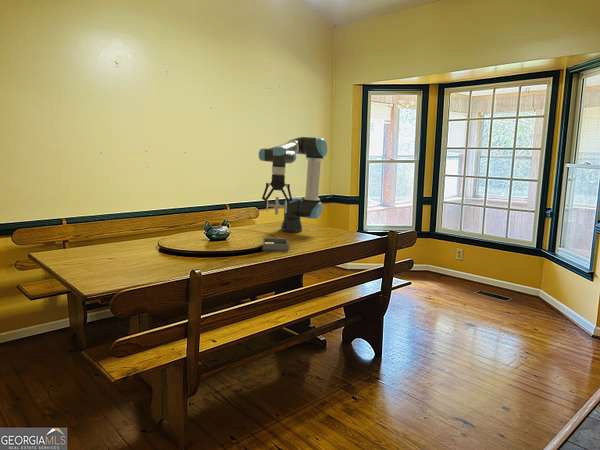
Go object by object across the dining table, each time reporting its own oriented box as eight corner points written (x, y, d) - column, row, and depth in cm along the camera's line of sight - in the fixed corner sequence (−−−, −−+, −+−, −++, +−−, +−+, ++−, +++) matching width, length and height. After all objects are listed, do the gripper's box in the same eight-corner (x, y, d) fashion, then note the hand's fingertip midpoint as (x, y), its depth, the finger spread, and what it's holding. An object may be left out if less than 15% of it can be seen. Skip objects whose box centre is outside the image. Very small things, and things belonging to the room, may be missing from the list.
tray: (262, 244, 270) (262, 237, 269) (287, 245, 271) (287, 238, 271) (262, 250, 255) (262, 244, 255) (288, 251, 257) (288, 244, 256)
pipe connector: (286, 213, 264) (286, 196, 262) (283, 216, 255) (284, 199, 253) (269, 212, 265) (270, 195, 263) (266, 215, 256) (267, 197, 254)
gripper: (258, 173, 251) (256, 212, 255) (298, 175, 253) (296, 214, 257) (258, 172, 258) (257, 210, 262) (297, 174, 260) (295, 212, 264)
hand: (276, 212), depth 260 cm, fingers closed on pipe connector, 10 cm apart
